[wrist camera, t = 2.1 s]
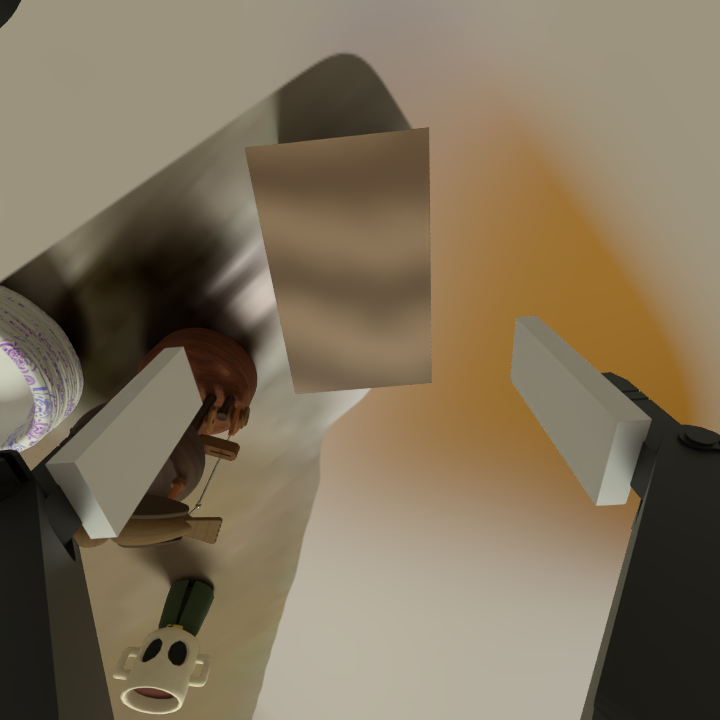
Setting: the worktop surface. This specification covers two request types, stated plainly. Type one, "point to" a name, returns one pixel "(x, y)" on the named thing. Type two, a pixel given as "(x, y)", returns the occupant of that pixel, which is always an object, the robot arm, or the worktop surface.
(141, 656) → the character mug
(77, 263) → the worktop surface
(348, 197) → the brown wooden block
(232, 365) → the music box
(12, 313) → the paper bowls
